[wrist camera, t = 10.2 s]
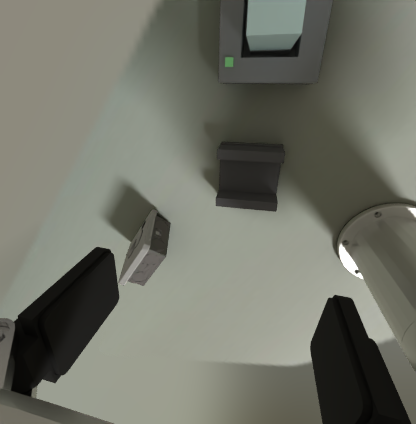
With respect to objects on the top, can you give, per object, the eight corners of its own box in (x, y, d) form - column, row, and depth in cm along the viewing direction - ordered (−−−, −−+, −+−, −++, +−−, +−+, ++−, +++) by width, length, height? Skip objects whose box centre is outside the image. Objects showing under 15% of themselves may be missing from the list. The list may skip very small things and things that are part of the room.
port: (329, -32, 24) (345, -60, 19) (309, 84, 28) (318, 82, 24) (227, -25, 25) (221, -49, 21) (224, 83, 30) (217, 82, 25)
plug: (294, 5, 25) (313, -43, 16) (288, 53, 26) (302, 34, 18) (253, 7, 25) (249, -37, 16) (250, 54, 27) (245, 36, 18)
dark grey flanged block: (282, 144, 32) (285, 151, 28) (274, 200, 35) (276, 212, 32) (221, 141, 33) (217, 147, 29) (220, 196, 36) (215, 207, 33)
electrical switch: (153, 206, 40) (132, 239, 32) (180, 222, 41) (166, 258, 33) (131, 242, 44) (106, 279, 36) (155, 256, 45) (137, 295, 37)
